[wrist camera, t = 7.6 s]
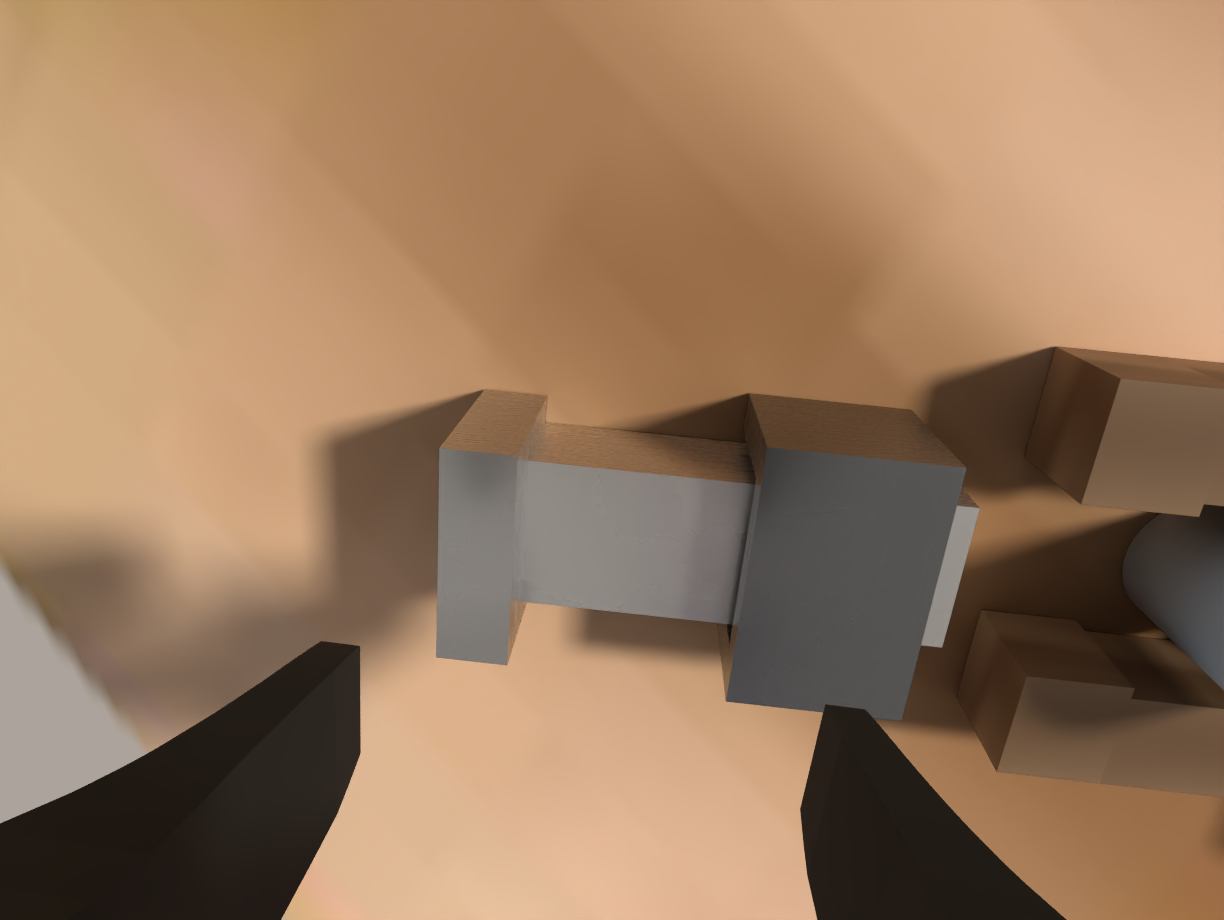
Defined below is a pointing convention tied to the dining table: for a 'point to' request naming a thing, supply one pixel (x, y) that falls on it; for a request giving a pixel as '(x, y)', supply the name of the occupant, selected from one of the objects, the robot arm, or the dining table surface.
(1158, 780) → the socket block
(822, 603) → the block
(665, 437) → the pin
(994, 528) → the dining table surface
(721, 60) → the dining table surface
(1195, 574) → the grey rounded cylinder
